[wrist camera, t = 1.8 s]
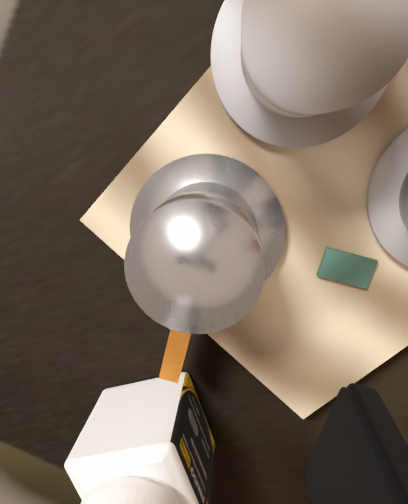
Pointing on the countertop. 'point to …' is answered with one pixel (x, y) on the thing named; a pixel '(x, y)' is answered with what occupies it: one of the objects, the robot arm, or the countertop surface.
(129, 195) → the wooden board with knobs
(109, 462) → the medicine bottle
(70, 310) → the countertop surface
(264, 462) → the countertop surface
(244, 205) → the silver rounded knobbed piece
